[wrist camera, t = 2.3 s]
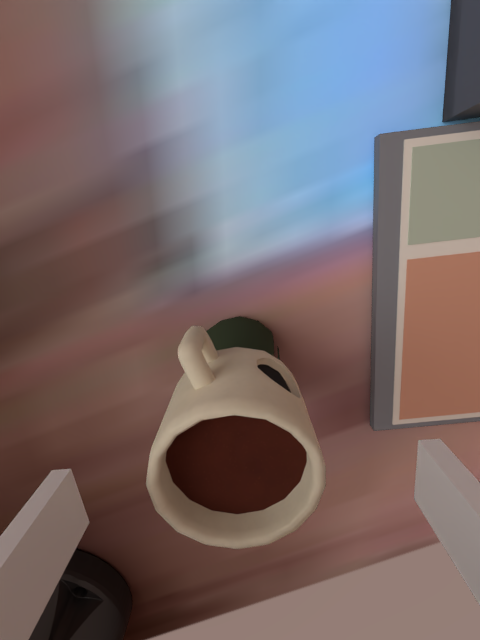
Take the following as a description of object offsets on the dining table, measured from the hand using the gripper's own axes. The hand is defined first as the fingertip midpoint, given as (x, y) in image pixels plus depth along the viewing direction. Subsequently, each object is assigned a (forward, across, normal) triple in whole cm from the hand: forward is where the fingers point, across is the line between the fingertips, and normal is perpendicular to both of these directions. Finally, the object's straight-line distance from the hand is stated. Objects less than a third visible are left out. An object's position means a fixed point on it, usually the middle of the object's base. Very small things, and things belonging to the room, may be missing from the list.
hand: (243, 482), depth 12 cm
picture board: (+13, +18, +3) cm, 22 cm away
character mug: (+13, 0, 0) cm, 13 cm away
